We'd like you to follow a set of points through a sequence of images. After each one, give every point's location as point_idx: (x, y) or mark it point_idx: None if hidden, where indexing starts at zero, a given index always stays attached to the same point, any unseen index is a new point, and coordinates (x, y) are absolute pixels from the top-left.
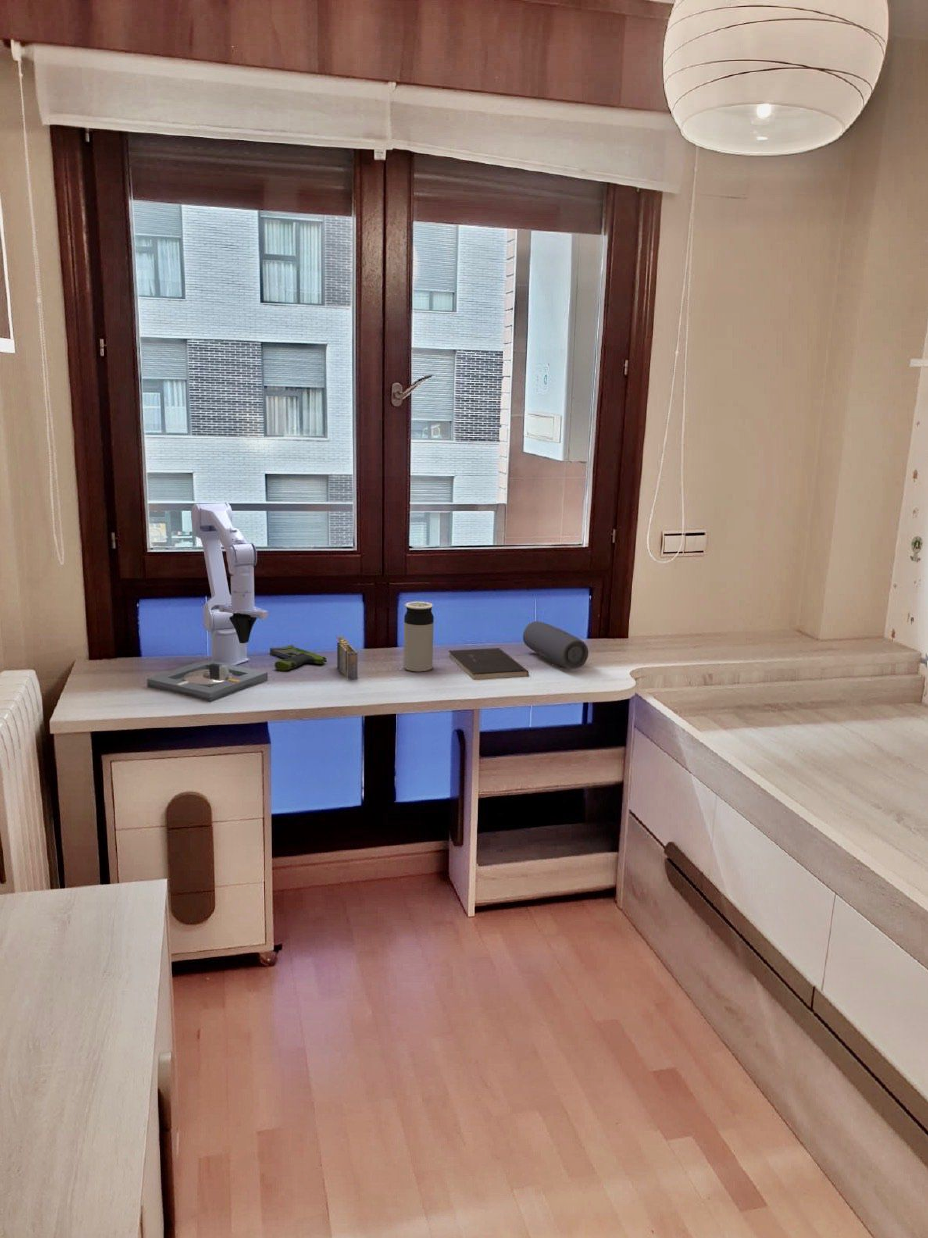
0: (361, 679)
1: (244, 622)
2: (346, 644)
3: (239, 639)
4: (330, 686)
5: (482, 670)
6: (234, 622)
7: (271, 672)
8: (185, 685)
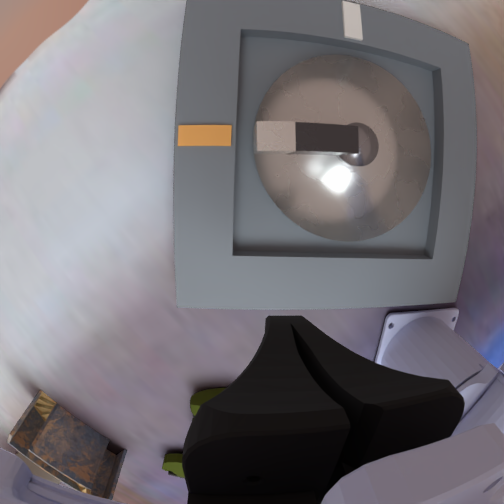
0: (28, 398)
1: (205, 410)
2: (84, 491)
3: (299, 321)
4: (21, 331)
5: None
6: (377, 383)
7: (234, 364)
8: (331, 10)
